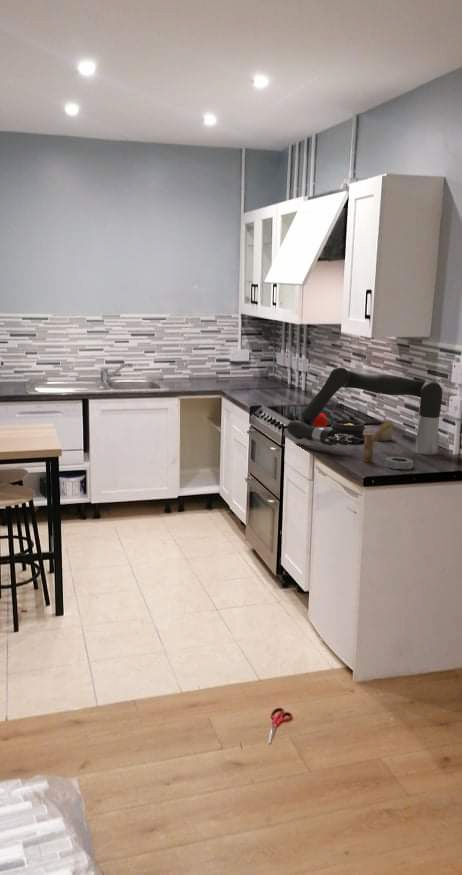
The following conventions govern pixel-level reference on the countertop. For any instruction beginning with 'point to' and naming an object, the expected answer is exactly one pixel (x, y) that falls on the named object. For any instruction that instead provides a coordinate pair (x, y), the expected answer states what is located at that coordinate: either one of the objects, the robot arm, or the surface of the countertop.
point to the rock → (384, 432)
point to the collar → (398, 463)
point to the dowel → (368, 447)
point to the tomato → (320, 421)
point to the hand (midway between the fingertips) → (353, 442)
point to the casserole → (349, 428)
